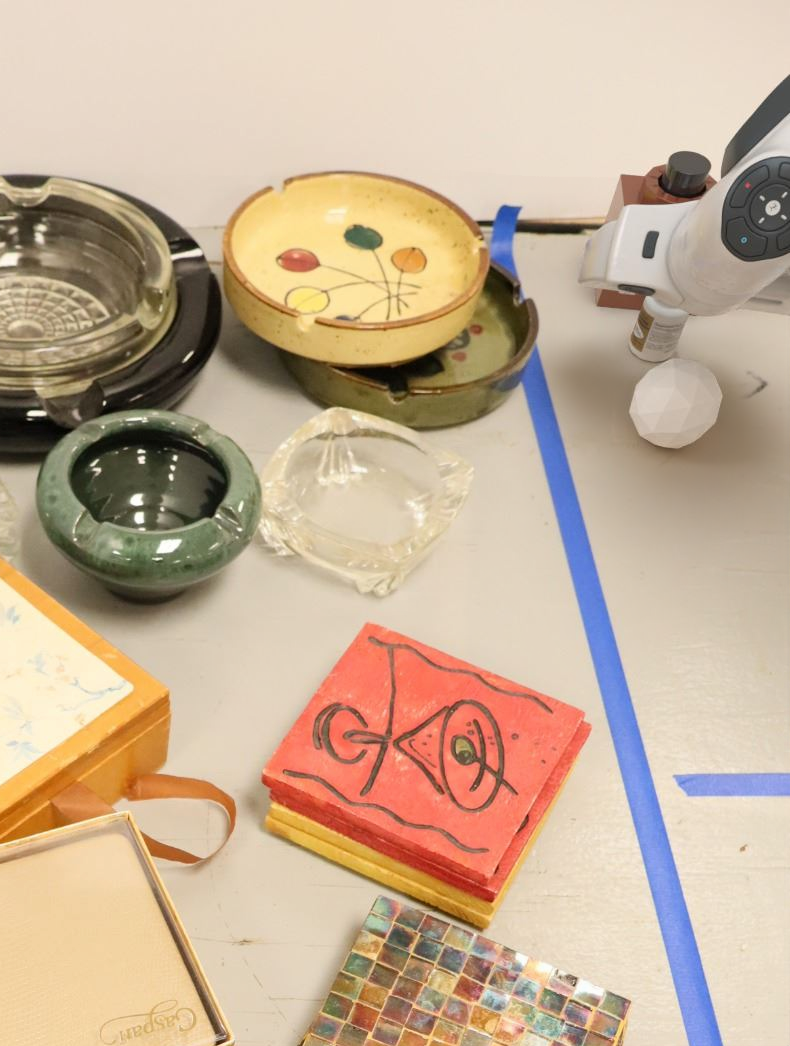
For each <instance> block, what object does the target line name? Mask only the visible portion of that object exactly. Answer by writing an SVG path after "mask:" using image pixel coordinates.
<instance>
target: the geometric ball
mask: <svg viewBox="0 0 790 1046" xmlns="http://www.w3.org/2000/svg"><path fill="white" fill-rule="evenodd" d="M723 397H724V395H723V392H722V389H721V387H720V385H719V382H718V380H717V378H716V376H715V374H714V373H713V371H712V370H711V369H709V368H708V367H706V366H705V365H704V364H702V363H701V362H699V361H697V360H692V359H684V358H677V357H676V358H675V357H672V358H669V359H667V360H665V361H663V362H662V363H660V364H659V365H657V366H655V367H653V368H650V369H649V370H648V371H647V372H646V374H645V375H644V376H643V377H642V378H641V379H640V380H639V381H638V382H637V383H636V385H635V387H634V391H633V395H632V399H631V402H630V406H629V410H628V413H629V415H630V418H631V420H632V422H633V424H634V426H635V429H636V431H637V433H638V435H639V436H640V437H641V438H643V439H644V440H646V441H647V442H649V443H651V444H653V445H654V446H658V447H661V448H670V449H680V448H683V447H685V446H687V445H689V444H693V443H694V442H696V441H697V440H699V439H700V438H701V437H702V436H703V435H704V434H705V433H707V432H708V430H710V428H712V426H714V425H715V424H716V423H717V420H718V419H717V418H718V415H719V412H720V407H721V403H722V400H723Z"/></svg>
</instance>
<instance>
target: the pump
mask: <svg viewBox="0 0 790 1046" xmlns="http://www.w3.org/2000/svg"><path fill="white" fill-rule="evenodd" d="M666 164H667V165H666V168H665V170H664V173H663V176H662V179H661V181H660V188H661V189H663V190H664V191H665V192H666V193H668V194H670V195H673V196H675V197H678V198H689V199H691V198H695V197H699V196H700V195H701V193H702V191H703V188H704V185H705V183H706V180H707V178H708V175H710V172H711V170H712V162H711V161H710V160H709V158H707V157H706V156H705V155H703V154H701V153H699V152H696V151H691V150H680V151H675V152H673V153H672V154H670V155H669V156H668V159H667V163H666Z"/></svg>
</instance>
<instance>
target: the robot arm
mask: <svg viewBox="0 0 790 1046" xmlns="http://www.w3.org/2000/svg"><path fill="white" fill-rule="evenodd" d="M577 283H578V284H579V285H580V286H583V287H585V288H594V289H595V288H600V289H607V290H614V291H619V293H622V294H629V295H635V294H641V295H644V296H650V297H653V298H655V299H658V300H660V301H662V302H664V303H667V304H669V305H673V306H677V307H678V308H680V309H682V310H683V311H685V312H687V313H690V314H693V315H692V316H694V315H697V316H698V317H706V318H707V317H709V318H710V317H716V316H721V315H725V314H727V313H730V312H732V311H738V310H747V311H754V312H761V313H768V314H774V315H781V316H790V73H789V74H788V75H787V76H786V77H785V78H784V79H782V81H781V82H780V83H779V84H778V85H776V87H775V88H773V90H771V92H770V93H769V94H768V95H767V96H766V97H765V99H763V101H762V102H761V103H760V104H759V106H758V107H757V108H756V109H755V110H754V112H753V113H752V114H751V115H750V116H749V117H748V119H746V120H745V122H744V123H743V124H742V125H741V127H740V128H739V129H738V130H737V131H736V133H735V134H734V136H733V137H732V138H731V140H730V141H729V142H728V144H727V145H726V147H725V149H724V153H723V157H722V162H721V167H720V180H718V181H717V183H716V184H715V185H714V186H713V187H712V188H711V189H710V190H709V191H708V192H707V193H706V194H705V195H704V196H703V197H702V198H701V199H700V200H695V201H690V202H684V203H678V204H641V205H627V206H624V207H623V208H622V209H621V212H620V214H619V217H618V220H615V221H611V222H609V223H606V224H605V225H604V224H602V226H601V227H599V228H598V229H597V230H596V231H595V232H594V233H593V234H592V235H591V236H590V237H589V239H588V240H587V242H586V243H585V245H584V248H583V253H582V257H581V259H580V265H579V270H578V276H577ZM697 316H696V317H697Z"/></svg>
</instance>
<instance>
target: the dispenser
mask: <svg viewBox="0 0 790 1046" xmlns="http://www.w3.org/2000/svg"><path fill="white" fill-rule="evenodd" d="M666 165H667V163H664V164H661V165H660V164H659V165H655V166H653V167H652V168H651V169H650V170H649V171H648V172H647V173H646V174H645V175H636V174H625V173H621V174H620V175H619V178H618V181H617V184H616V187H615V191H614V193H613V197H612V199H611V202H610V205H609V208H608V211H607V214H606V218H605V220H604V223H603V225H605V224H606V223H609V222H611V221H615V220H618V217H619V214H620V212H621V209H622V208H623V207H624V206H627V205H641V204H678V203H684V202H690V201H695V200H700V199H701V198H702V197H703V196H704V195H705V194H706V193H707V192H708V191H709V190H710V189H711V188H712V187H713V186H714V185H715V184H716V183H717V182H718V181H717V180H716V179H715V178H714V177H712V175H710V174H709V175H708V178H707V180H706V183H705V185H704V188H703V191H702V193H701V195H700V196H699V197H695V198H691V199H689V198H678V197H675V196H673V195H670V194H668V193H666V192H665V191H664V190H663V189H661V188H660V181H661V179H662V176H663V173H664V170H665V168H666ZM594 291H595V300H596V303H595V304H596V307H600V308H601V307H602V308H611V309H623V310H632V311H641V308H642V305H643V303H644V300H645V298H646V296H644V295H641V294H635V295H629V294H622V293H619V291H614V290H607V289H600V288H594ZM689 316H694V317H695V316H696V317H697V315H693V314H690V313H689Z"/></svg>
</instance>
